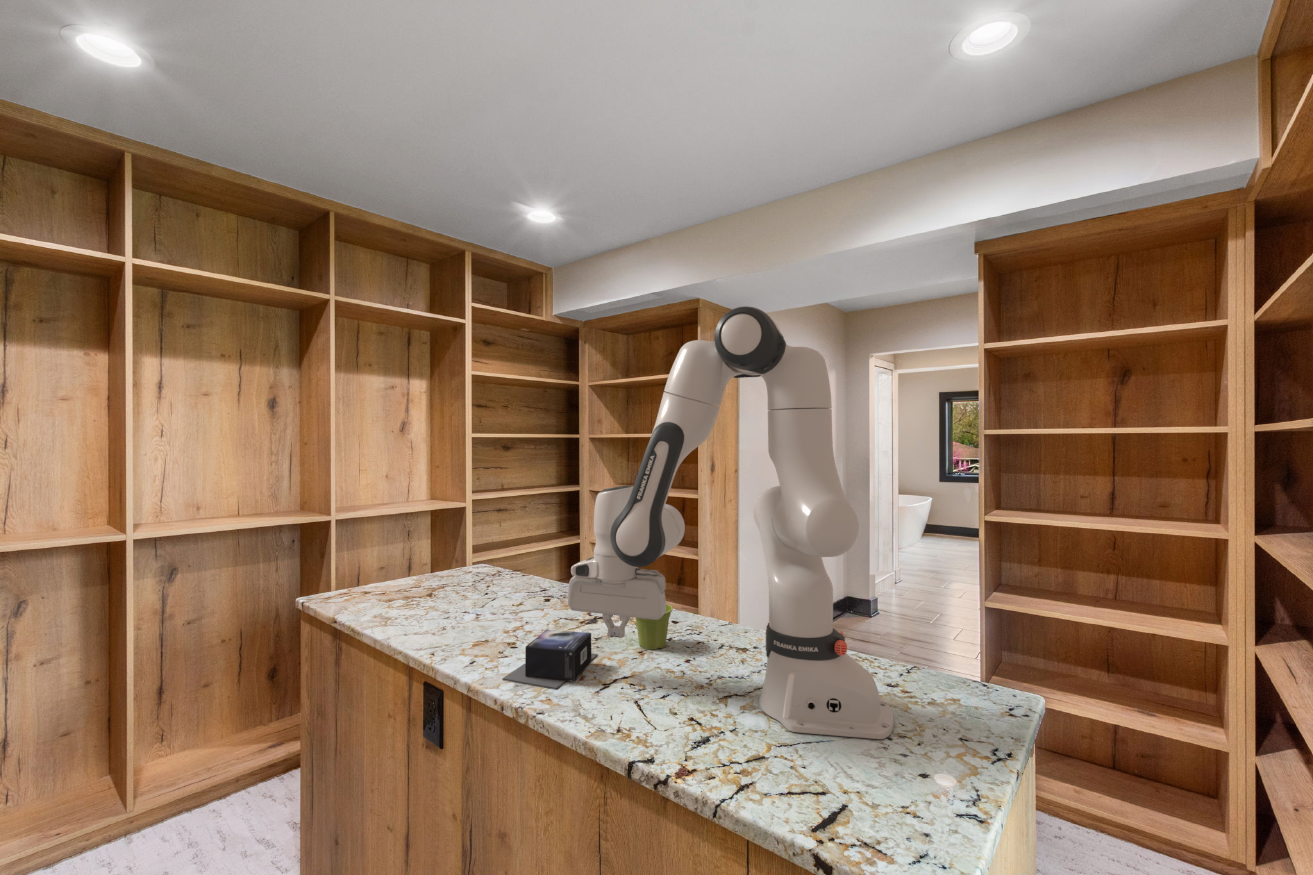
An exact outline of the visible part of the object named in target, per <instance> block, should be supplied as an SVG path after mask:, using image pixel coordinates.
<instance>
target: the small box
mask: <svg viewBox="0 0 1313 875" xmlns="http://www.w3.org/2000/svg"><path fill="white" fill-rule="evenodd" d="M591 653H592V632H585V631H583V632H582V631H581V632H580V631H570V630H569V631H567V630H554V629H545V630H544V631H543V632H541V633H540V634H539V635H538V636H537V637H535V638H534V639H533V640H532V641H530V642H529V643H527V645H526V646H525V658H524V659H525V660H524V661H525V663H524V664H525V676H526V677H537V678H547V679H558V680H566V682H576V680H577V679H578V678H579V676H581V674H582V673H583V672H584V671H585V669H587V667H588V666H589V664H590V663H591V662H592V661H591Z"/></svg>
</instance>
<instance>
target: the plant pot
mask: <svg viewBox="0 0 1313 875" xmlns="http://www.w3.org/2000/svg"><path fill="white" fill-rule="evenodd" d="M673 608H674V607H673V606H672V605H671V604H670V603H669V604H668V603H666V612H665V614H664V615H663V616H662V617H661V618H660V619H658V620H653V619H644V618H635V623H636V630H637V638H638V644H639V646H640V647H641V648H642V649H645V650H652V651H653V650H657V649H659V648H660V649H663V648H665V647H666V645H667V640H668V639H667V638H668V630H669V622H670V617H671V613H672V612H673Z"/></svg>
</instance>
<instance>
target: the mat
mask: <svg viewBox="0 0 1313 875" xmlns="http://www.w3.org/2000/svg"><path fill="white" fill-rule="evenodd" d="M596 657H598V653H594V652H593V653H592V652H591V662H592V661H593V660H594V659H595V658H596ZM501 680H503V681H507V682H511V681H512V682H511V683H517V684H518V683H519V684H524V685H528V686H529V685H530V686H534V687H541V688H546V689H553V690H558V689H559V688H561V686H563V684H565V683H566V682H567V681H566V680H558V679H547V678H537V677H526V676H525V663H523V664H521V665H520V666H519V667H517V668H516V669H514V670H513V671H511V672H509V673H508V674H507V675H505V676H503V677H502V679H501Z"/></svg>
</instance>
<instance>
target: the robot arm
mask: <svg viewBox="0 0 1313 875" xmlns="http://www.w3.org/2000/svg"><path fill="white" fill-rule="evenodd" d="M717 322H718V323H717V324H716V327H715V329H714V334H713V338H714V340H713V341H711V340H710V341H708V340H702V339H696V340H691V341H688V342H686V343H684V344H683V345H682V346H681V347H680V349H679V351H678V353H677V355H676V357H675V360H674V361H673V364H672V366H671V368H670V371H669V374H668V377H667V380H666V382H665V383H666V384H665V386H664V390H663V392H662V397H661V401H660V405H659V408H658V412H657V415H656V416H657V417H656V419H655V423H654V426H653V429H652V432H651V435H650V439H649V442H648V444H647V447H646V449H645V451H644V454H643V457H642V460H641V462H640V463H641V464H640V465H639V466H640V467H639V469H638V471H637V472H638V473H637V475H636V477H635V481H634V485H630V484H629V485H619V486H615V487H614V486H613V487H610V488H604V489H602V490H601V491H599V492H598V493H597V495H596V497H595V504H594V508H593V509H594V511H593V533H594V537H595V545H594V549H593V556H592V557H590V558H588V559H585V560H581V561H578V562H577V563H575V564H573V565H572V566H571V568H570V573H571V576H572V577H571V578H570V580H569V582H568V588H567V606H568V607H569V609H570V610H571V611H572V612H573V611H575V612H583V613H591V614H600V615H601V614H602V621H603V622H604V624H605V626H606V628H607V636H608V637H611V638H612V637H613V638H618V639H622V638H624V637H625V635H626V630H625V629H626V628H625V627H627V625H628V623H629V621H630V619H631V618H634V619H636V618H644V619H653V620H658V619H660V618H661V617H662V616H663V615H664V614H665V612H666V604H667V601H666V593H665V591H666V585H667V584H666V577H665V575H664V574H662V573H661V572H659V570H657V569H645V568H644V567H648V566H650V565H651V564H653V563H654V562H655V561H657V560H658V559H659V558H660V557H662V556H663V555H664V554H667V553H668V552H670V551H671V550H673V549H674V548H676V547H677V546H678V545H679V544H680V543H681V542H682V541H683V539H684V537H685V533H686V523H685V519H684V517H683V515H682V513H681V511H680V510H679V509H678V508H676V507H675V506H673V505H671V504H668V503H667V500H668V498H669V497H668V496H669V493H670V490H671V488H672V485H673V482H674V480H675V479H674V478H675V476H676V473H677V471H678V470H679V469H678V468H679V467H680V465H681V464H682V462H683V461H684V460H685V459H686V457H687V456H689V454H691V452H692V451H694V450H696V449H697V448H698V447H700V446H701V445H702V444H704V442H705V441H707V439H708V438H709V436H710V435H711V432H712V430H713V428H714V426H715V423H716V421H717V418H718V415H719V413H720V412H719V411H720V409H721V406H722V405H721V404H722V401H723V398H724V394H725V391H726V388H727V385H728V384H729V382H730V381H731V380H732V379H733V378H735V379H742V378H760V377H761V378H762V379H763V381H764V383H765V386H766V391H767V438H768V440H767V441H768V442H767V444H768V445H767V446H768V448H767V449H768V455H769V458H770V460H771V462H772V463H773V465H774V468H775V471H776V475H777V479H778V482H779V485H777V486H773V487H770V488H767V489H766V490H764V491H763V492H761V493H760V494H759V495H758V497H757V498H756V500H755V502H754V505H753V519H754V522H755V524H756V526H757V528H758V531H759V534H760V539H761V544H762V550H763V551H762V552H763V556H764V561H765V567H766V571H767V577H768V578H767V579H768V581H767V582H768V623H767V625H766V629H765V651H766V652H765V654H766V657H767V660H766V669H765V676H764V681H763V687H762V690H761V694H760V696H759V698H758V699H759V700H758V705H759V707H760V709H761V710H762V711H763V712H764V713H765V714H766V715H768V716H769V717H771V718H773V719H775V720H776V721H778V722H780V723H781V724H782V725H783V726H784V727H785V728H786V729H787V730H788V731H790V732H791V733H792V732H793V733H798V734H799V733H802V734H815V735H822V736H823V735H825V736H836V737H837V736H839V737H846V738H847V737H849V738H861V739H862V738H863V739H873V740H875V739H876V740H884V739H886V738H888V737H889V736H890V735H891V734H892V732H893V730H894V727H895V720H894V714H893V711H892V708H891V706H890V705H889V704H888V702H886V701H885V700H884V699H882V698H881V697H880V695H879V689H878V686H877V684H876V681H875V679H874V677H873V676H872V674H871V672H869V671H868V670H867V669H866V668H864V667H863V666H862V665H861V664H859V663H858V662H857V661H856V660H855V659H854V658H852V657H851V656H850V655H849V654H848V653H847V652H848V645H847V642H846V637H845V636H844V633H843V631H842V630H840V632H839V631H838V630H836V629H835V628H834V586H833V584H832V580H831V578H830V577H829V575H828V573H827V571H826V567H825V565H824V561H823V558H832V557H833V558H834V557H839V556H841V555H843V554H845V553H847V552H848V551H849V550H850V549H851V548H852V547H853V545H854V544H855V543H856V541H857V538H858V535H859V528H860V527H859V525H860V523H859V518H858V516H857V513H856V511H855V510H854V508H853V507H852V506H851V504H850V503H849V501H848V500H847V497H846V495H845V492H844V489H843V487H842V484H841V483H842V482H841V480H840V476H839V473H838V469H837V466H836V460H835V456H834V455H835V454H834V446H833V445H834V444H833V442H834V441H833V440H834V439H833V416H832V415H833V414H832V408H833V407H832V406H833V405H832V393H831V383H830V378H829V377H830V376H829V371H828V367H827V363H826V360H825V358H824V356H823V355H822V354H821V352H820V351H818V350H816V349H813V348H810V347H806V346H791V345H788V344H787V342H786V340H785V338H784V336H783V333H782V332H781V330H780V327H779V325H778V323H776V322H775V321H774V320H773V319H772V318H771V316H769V315H768V313H766V312H764V311H763V310H762V309H759V308H757V307H754V306H747V305H745V306H738V307H736V308H733V309H731V310H729V311H727V312H726V313H725V314H723V315H722V316H721V318H720V319H719V321H717ZM614 616H618V617H619V622H621V623H620V625H615V624H614V622H613V621H614V620H613V619H612V618H613V617H614Z"/></svg>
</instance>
